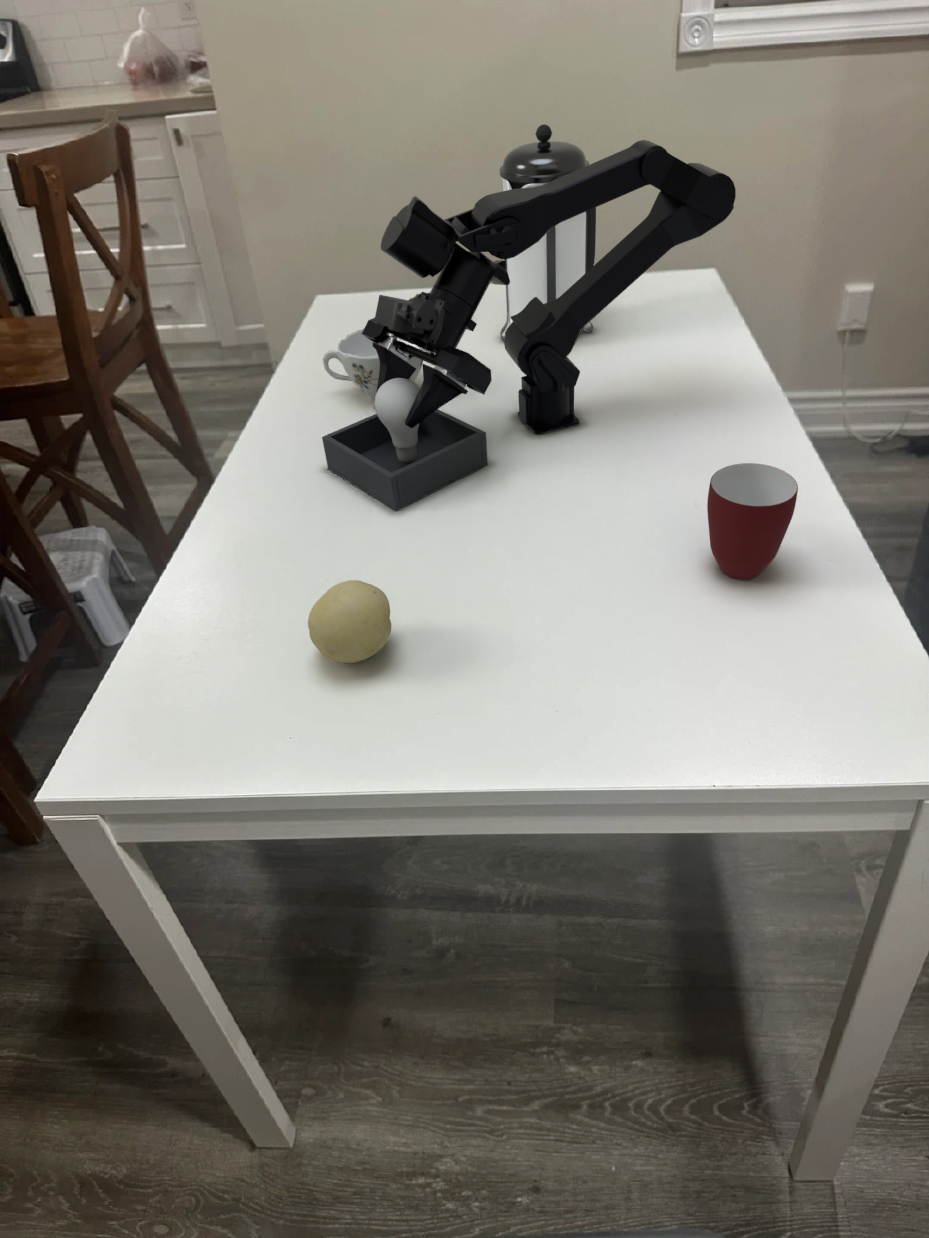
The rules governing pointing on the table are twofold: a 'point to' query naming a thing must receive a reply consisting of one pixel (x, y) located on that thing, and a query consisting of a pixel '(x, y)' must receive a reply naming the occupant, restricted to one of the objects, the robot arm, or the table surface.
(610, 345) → the table surface
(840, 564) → the table surface
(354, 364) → the teacup
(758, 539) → the mug
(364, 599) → the potato
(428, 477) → the square tray
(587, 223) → the coffee press
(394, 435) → the lightbulb
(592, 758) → the table surface
